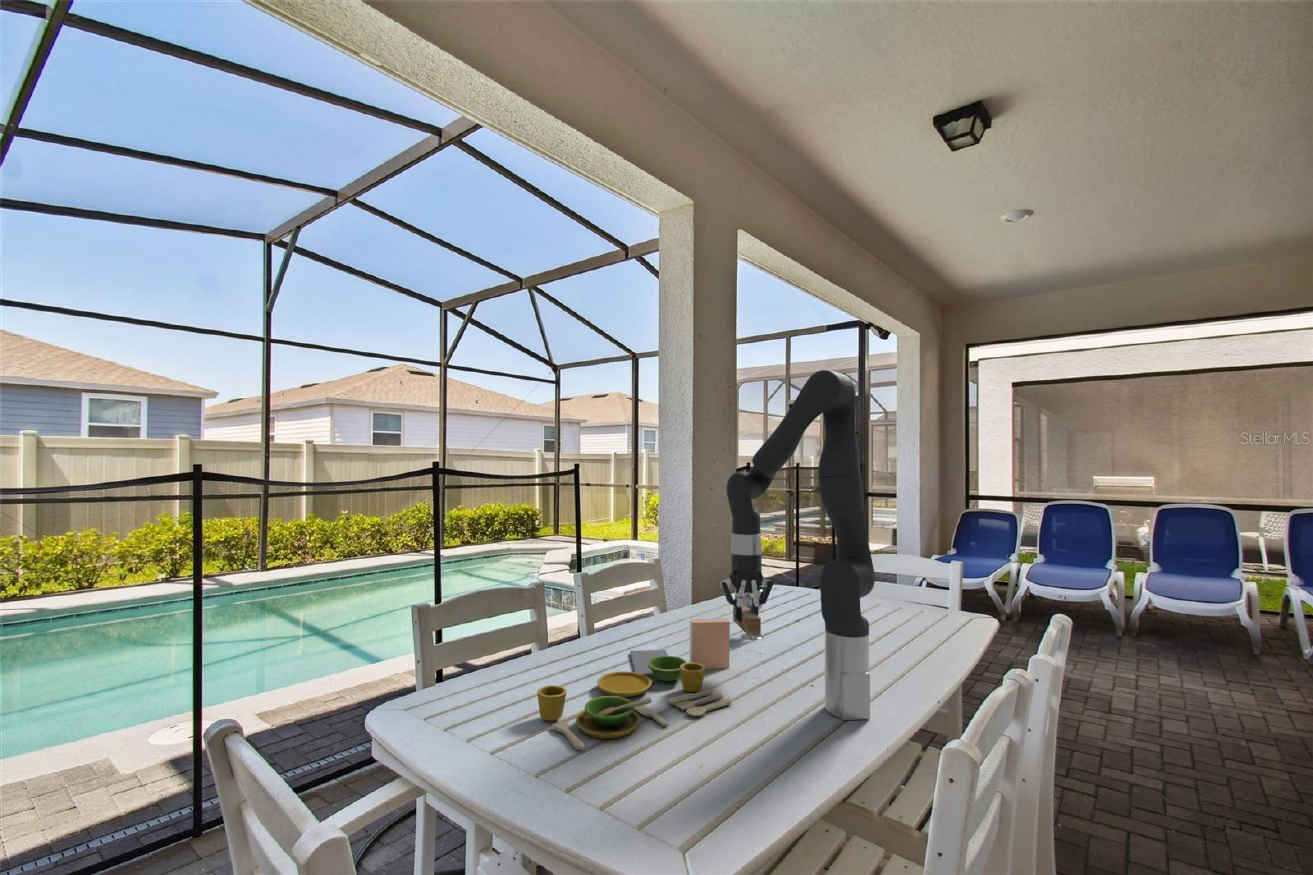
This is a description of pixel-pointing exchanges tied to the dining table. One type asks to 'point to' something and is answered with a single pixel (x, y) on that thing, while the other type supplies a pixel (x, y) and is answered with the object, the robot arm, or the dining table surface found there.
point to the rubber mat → (645, 660)
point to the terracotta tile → (710, 642)
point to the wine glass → (747, 601)
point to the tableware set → (617, 712)
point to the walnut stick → (749, 622)
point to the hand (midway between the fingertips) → (746, 620)
